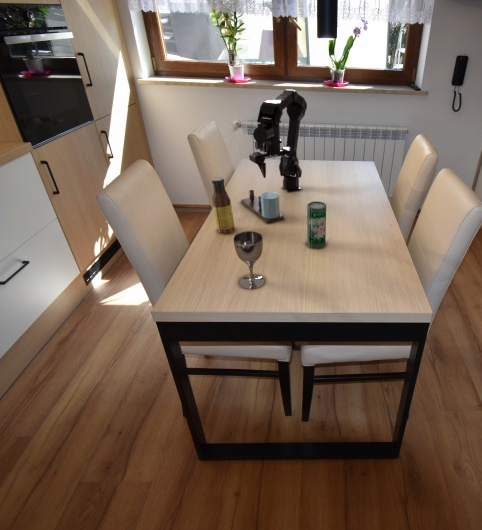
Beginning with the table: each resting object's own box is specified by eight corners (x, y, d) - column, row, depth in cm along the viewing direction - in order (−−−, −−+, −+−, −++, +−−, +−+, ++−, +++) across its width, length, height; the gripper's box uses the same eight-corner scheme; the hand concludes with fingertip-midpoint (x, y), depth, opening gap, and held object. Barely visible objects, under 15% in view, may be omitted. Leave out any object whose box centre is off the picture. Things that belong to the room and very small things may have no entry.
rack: (256, 199, 168) (254, 185, 164) (283, 219, 152) (282, 203, 149) (241, 203, 164) (239, 188, 160) (267, 223, 149) (266, 208, 145)
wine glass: (240, 274, 119) (235, 231, 111) (266, 274, 120) (263, 231, 112) (237, 289, 113) (231, 245, 104) (264, 289, 113) (261, 244, 105)
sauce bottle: (238, 228, 144) (232, 177, 134) (227, 235, 139) (220, 183, 129) (224, 225, 146) (217, 174, 136) (213, 231, 142) (205, 179, 131)
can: (312, 250, 133) (312, 210, 125) (305, 242, 138) (304, 203, 129) (327, 246, 136) (329, 207, 127) (320, 238, 140) (321, 200, 132)
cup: (274, 209, 156) (273, 190, 152) (283, 215, 152) (282, 196, 147) (258, 213, 153) (257, 194, 148) (267, 219, 148) (266, 200, 144)
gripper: (282, 129, 161) (284, 166, 169) (241, 135, 151) (244, 173, 159) (297, 135, 153) (297, 173, 162) (254, 142, 144) (257, 182, 152)
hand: (274, 175), depth 159 cm, fingers open, 9 cm apart
